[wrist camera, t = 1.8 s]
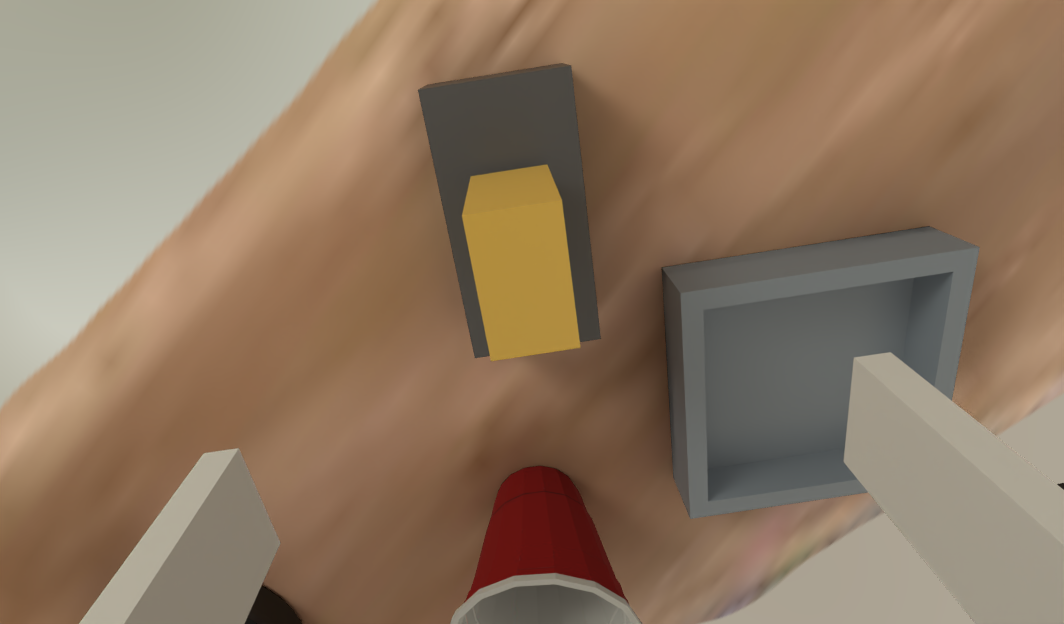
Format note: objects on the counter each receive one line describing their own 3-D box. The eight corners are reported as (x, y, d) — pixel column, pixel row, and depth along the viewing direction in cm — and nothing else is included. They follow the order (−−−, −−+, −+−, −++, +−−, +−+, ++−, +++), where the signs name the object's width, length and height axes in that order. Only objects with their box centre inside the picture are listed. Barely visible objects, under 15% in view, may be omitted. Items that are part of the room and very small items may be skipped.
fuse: (493, 261, 34) (491, 361, 23) (474, 157, 32) (462, 215, 21) (554, 251, 34) (580, 347, 23) (540, 147, 32) (561, 200, 21)
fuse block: (477, 326, 36) (474, 358, 32) (427, 84, 30) (418, 89, 26) (590, 309, 36) (600, 338, 32) (562, 63, 30) (571, 65, 26)
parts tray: (673, 477, 42) (690, 518, 38) (661, 267, 35) (680, 293, 31) (898, 443, 41) (936, 482, 38) (929, 226, 35) (979, 247, 31)
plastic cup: (434, 461, 40) (409, 617, 29) (586, 416, 39) (620, 559, 28) (488, 570, 44) (484, 741, 33) (625, 531, 43) (668, 694, 33)
